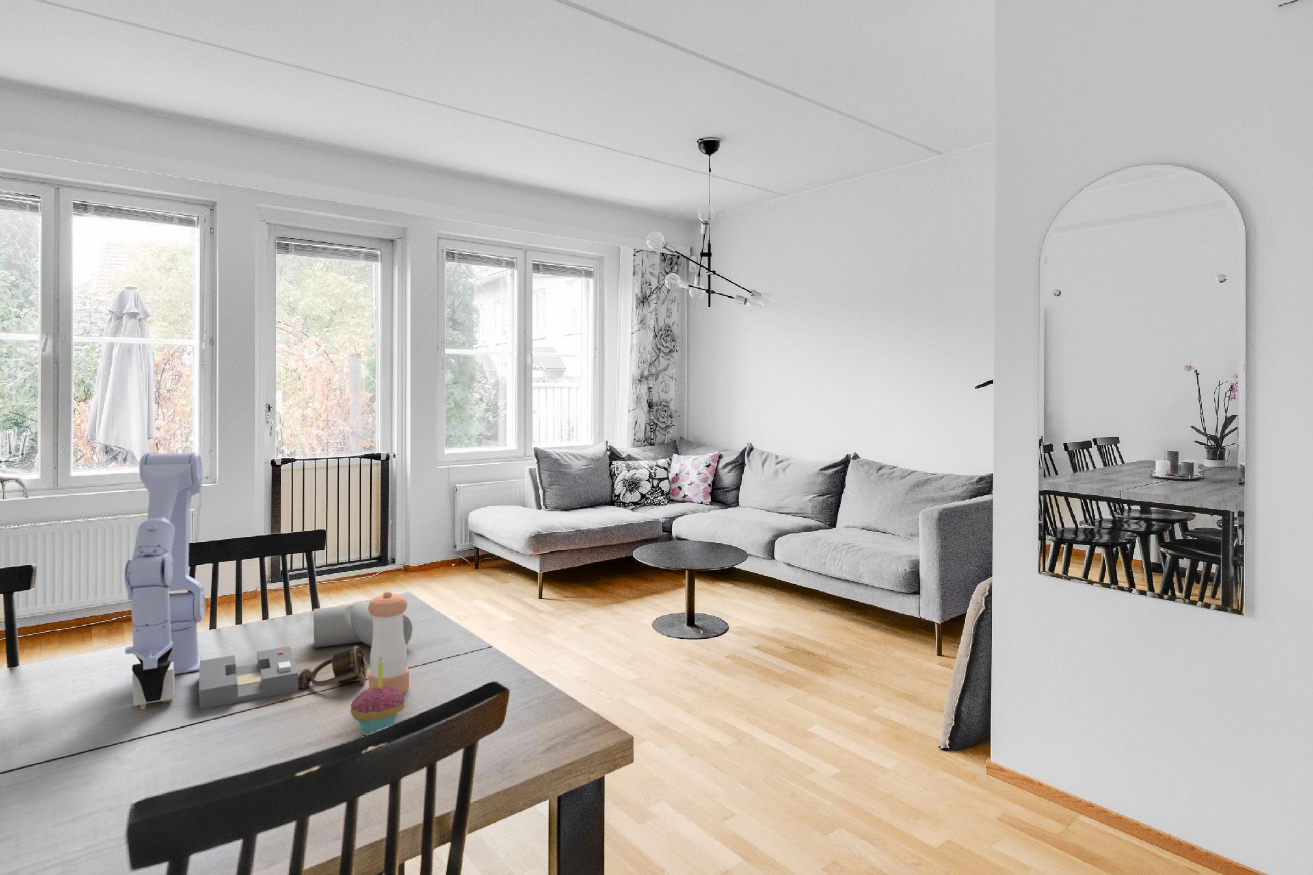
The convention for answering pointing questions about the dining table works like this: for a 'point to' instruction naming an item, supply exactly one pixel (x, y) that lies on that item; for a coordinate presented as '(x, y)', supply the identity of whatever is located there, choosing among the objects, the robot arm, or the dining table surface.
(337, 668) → the bronze loop with drum
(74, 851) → the dining table surface
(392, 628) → the pepper shaker
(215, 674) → the socket board
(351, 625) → the bent grey cylinder
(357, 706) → the cupcake
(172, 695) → the plug
